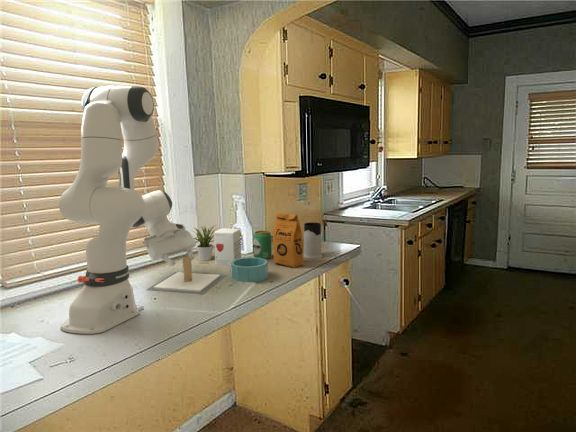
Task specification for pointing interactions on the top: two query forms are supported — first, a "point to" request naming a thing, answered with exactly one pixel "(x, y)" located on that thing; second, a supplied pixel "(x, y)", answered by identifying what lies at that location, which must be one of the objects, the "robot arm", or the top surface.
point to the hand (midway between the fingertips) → (183, 261)
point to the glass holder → (312, 240)
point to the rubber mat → (187, 291)
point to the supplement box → (227, 246)
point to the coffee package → (287, 241)
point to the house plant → (204, 244)
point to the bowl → (249, 269)
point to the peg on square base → (187, 279)
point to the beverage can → (262, 245)
